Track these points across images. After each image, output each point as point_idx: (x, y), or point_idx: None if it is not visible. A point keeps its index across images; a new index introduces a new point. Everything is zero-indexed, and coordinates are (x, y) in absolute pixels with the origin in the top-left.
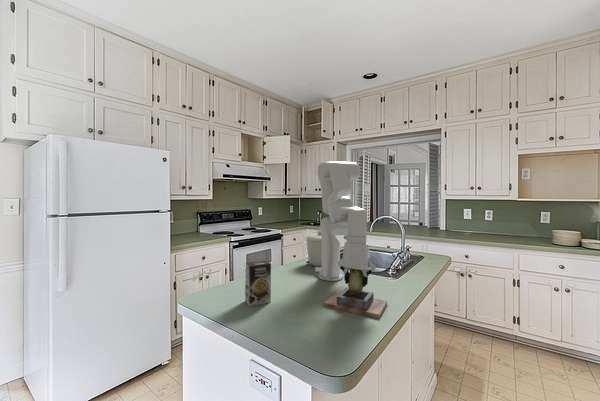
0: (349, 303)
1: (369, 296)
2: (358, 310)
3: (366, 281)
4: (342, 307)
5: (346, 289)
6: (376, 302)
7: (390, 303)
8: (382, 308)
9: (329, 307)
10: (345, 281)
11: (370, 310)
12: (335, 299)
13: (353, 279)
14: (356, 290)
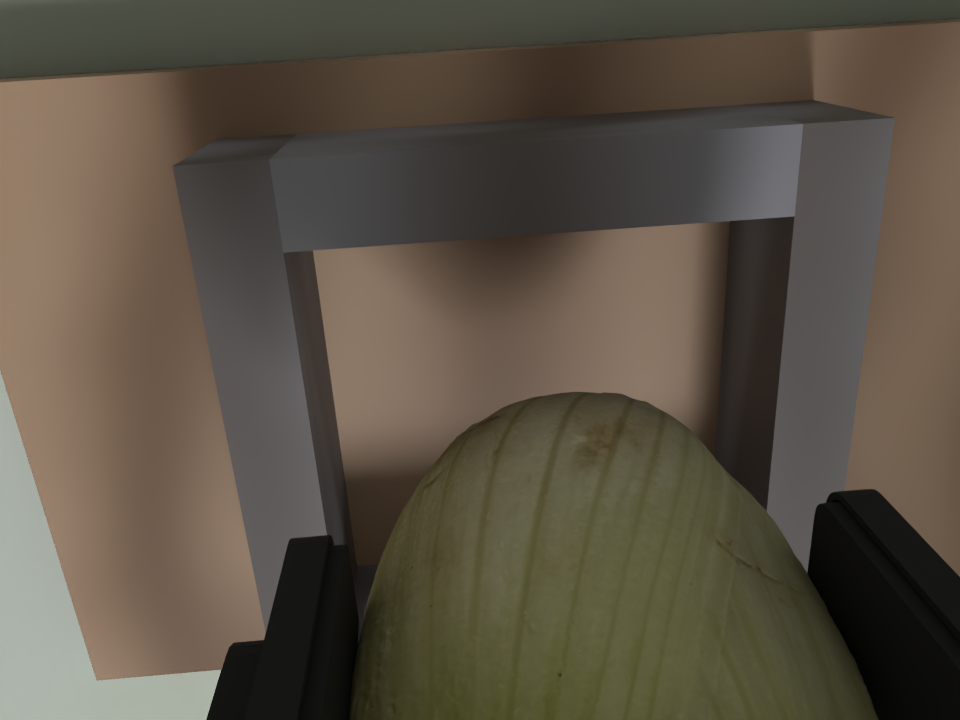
0: (558, 123)
1: (258, 508)
2: (337, 62)
3: (218, 706)
4: (666, 38)
5: None
6: (211, 549)
7: (101, 698)
8: (10, 381)
9: (908, 22)
10: (903, 523)
11: (141, 180)
12: (888, 287)
13: (675, 635)
14: (499, 416)
